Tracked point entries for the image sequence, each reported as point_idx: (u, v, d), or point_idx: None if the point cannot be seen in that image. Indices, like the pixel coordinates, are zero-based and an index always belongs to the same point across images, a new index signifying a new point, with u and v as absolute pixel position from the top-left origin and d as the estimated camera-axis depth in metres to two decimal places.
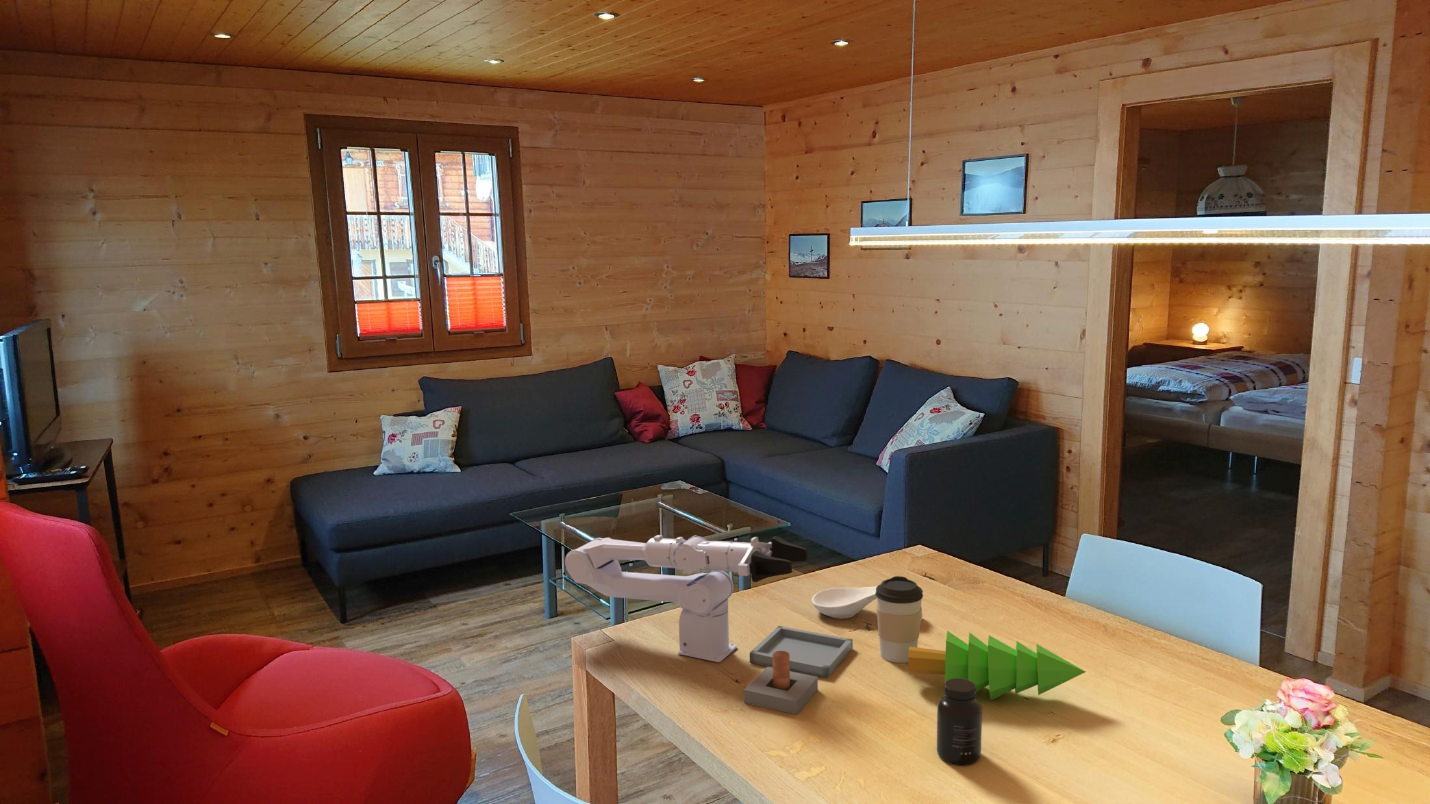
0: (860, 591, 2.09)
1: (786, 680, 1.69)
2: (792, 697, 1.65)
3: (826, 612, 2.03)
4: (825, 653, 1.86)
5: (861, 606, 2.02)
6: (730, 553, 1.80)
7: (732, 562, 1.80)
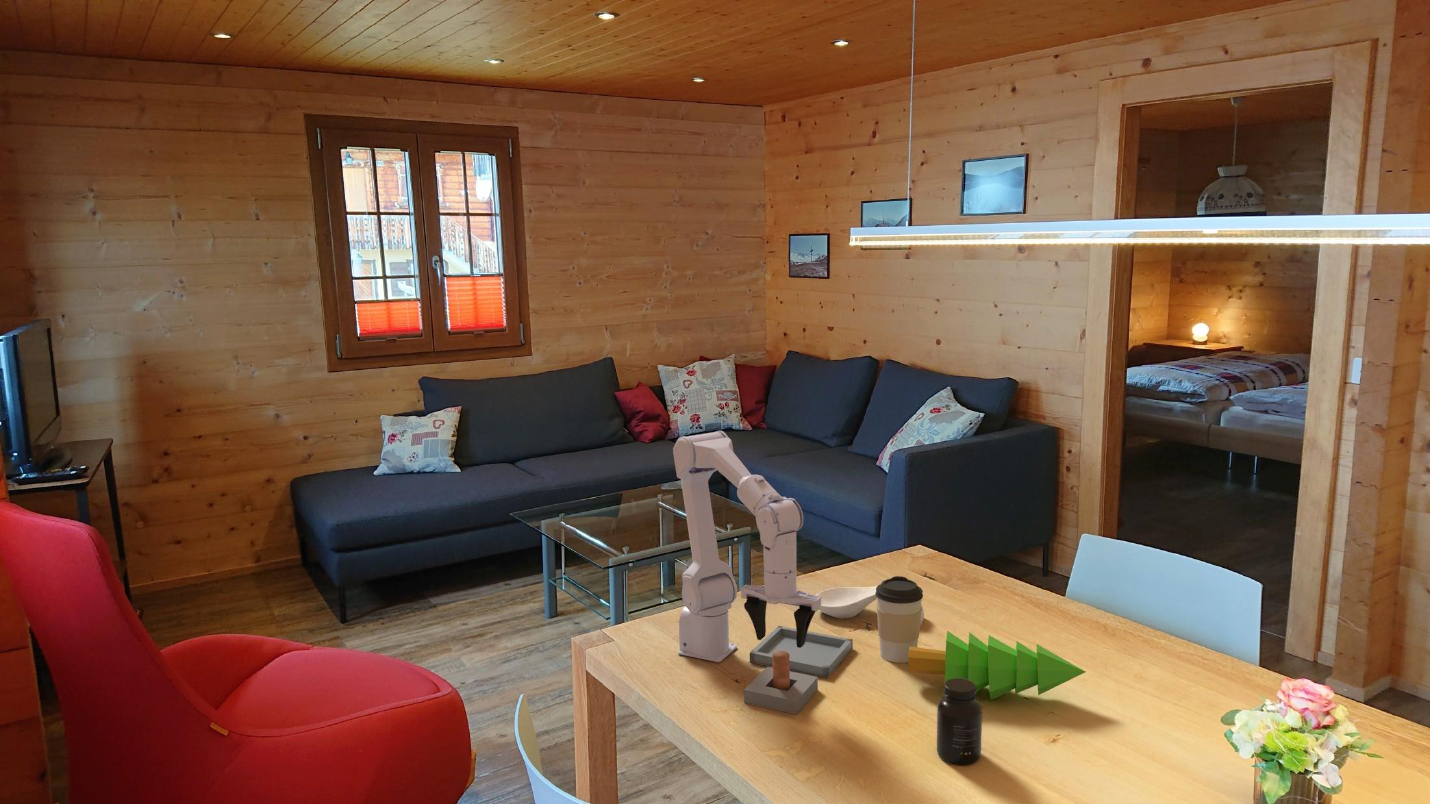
0: (861, 591, 2.09)
1: (786, 680, 1.69)
2: (792, 697, 1.65)
3: (828, 612, 2.03)
4: (825, 653, 1.86)
5: (863, 606, 2.02)
6: (764, 572, 1.66)
7: None
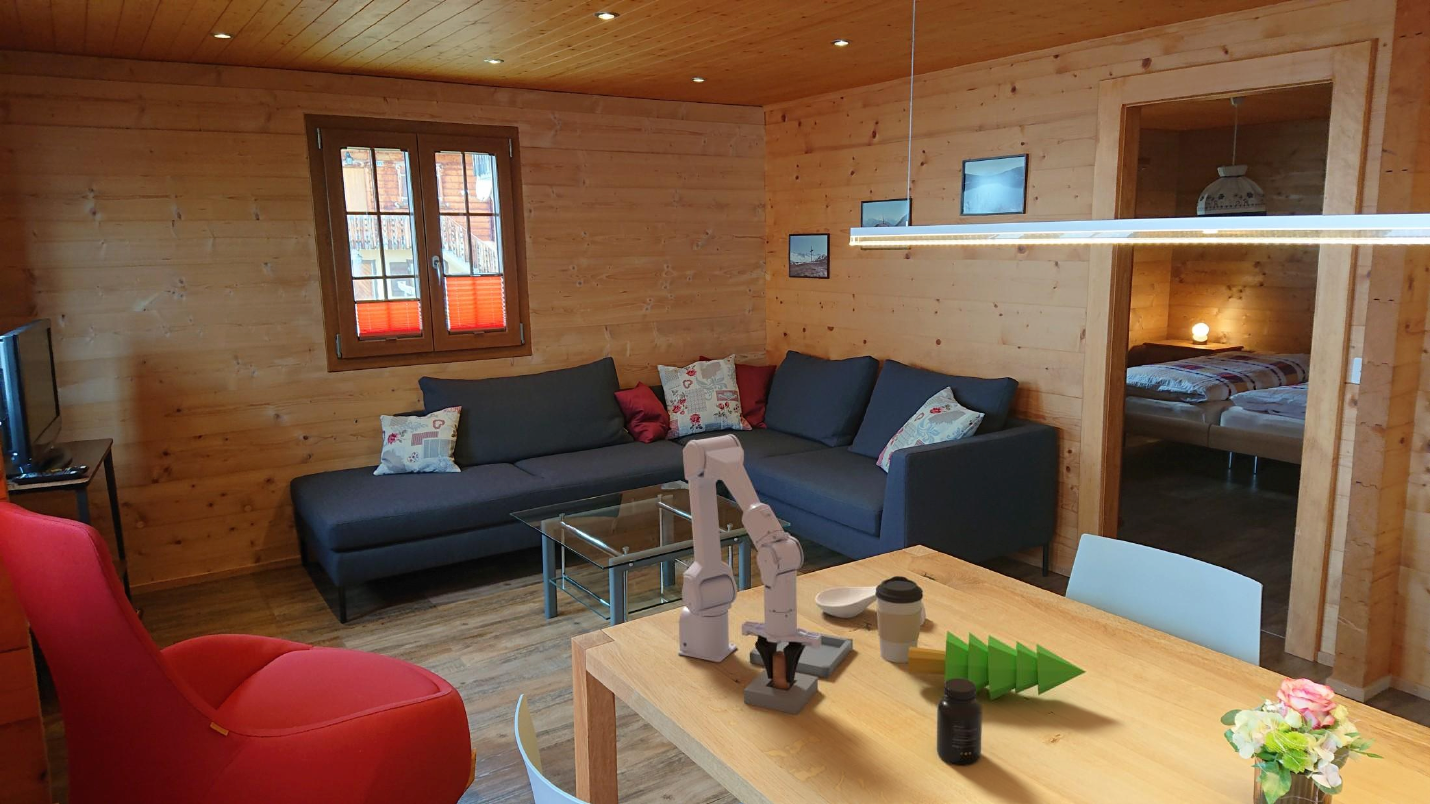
0: (863, 590, 2.09)
1: None
2: (792, 697, 1.65)
3: (829, 611, 2.03)
4: (825, 653, 1.86)
5: (864, 605, 2.02)
6: (764, 610, 1.67)
7: None
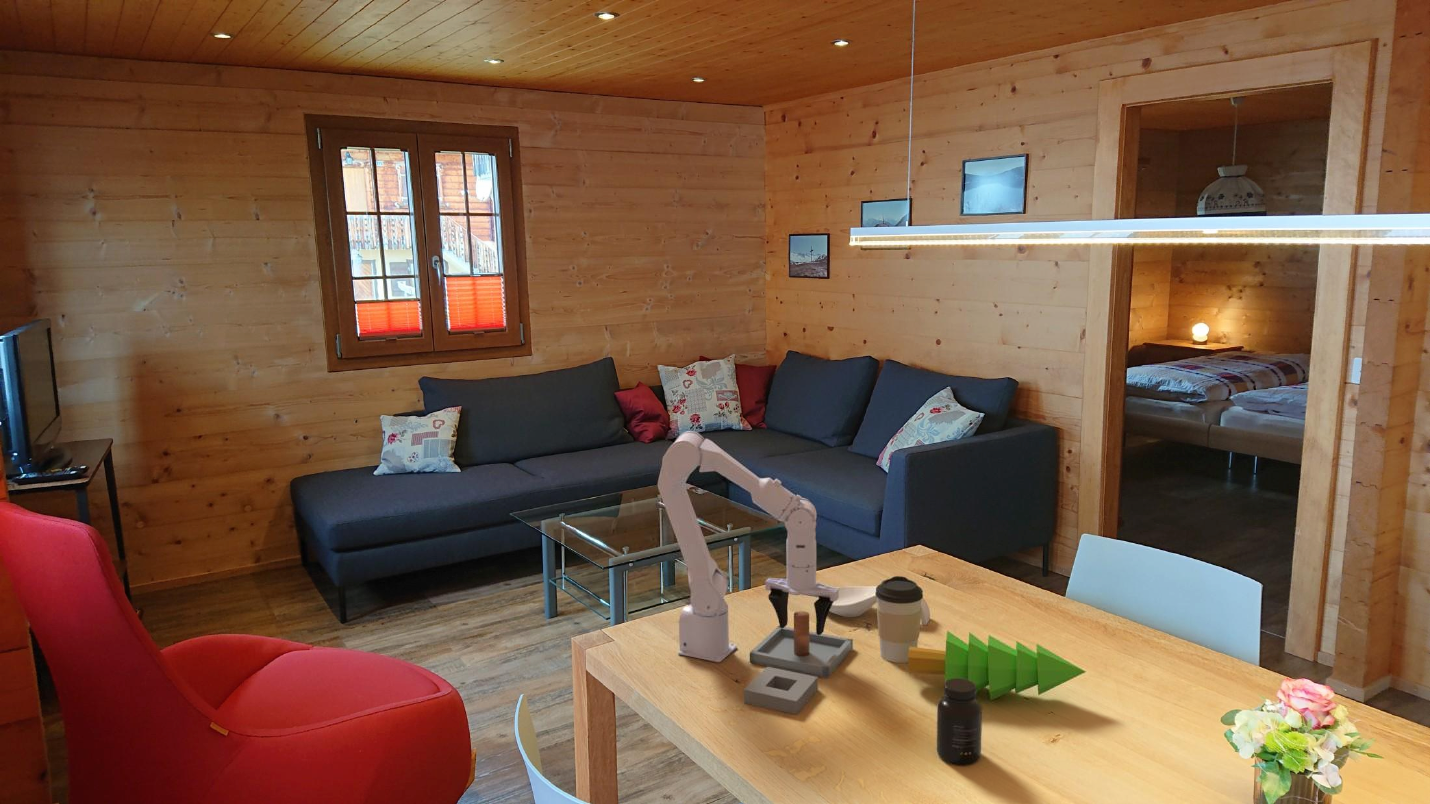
0: (868, 590, 2.09)
1: (806, 638, 1.85)
2: (792, 697, 1.65)
3: (833, 610, 2.04)
4: (825, 653, 1.86)
5: (868, 605, 2.03)
6: None
7: None
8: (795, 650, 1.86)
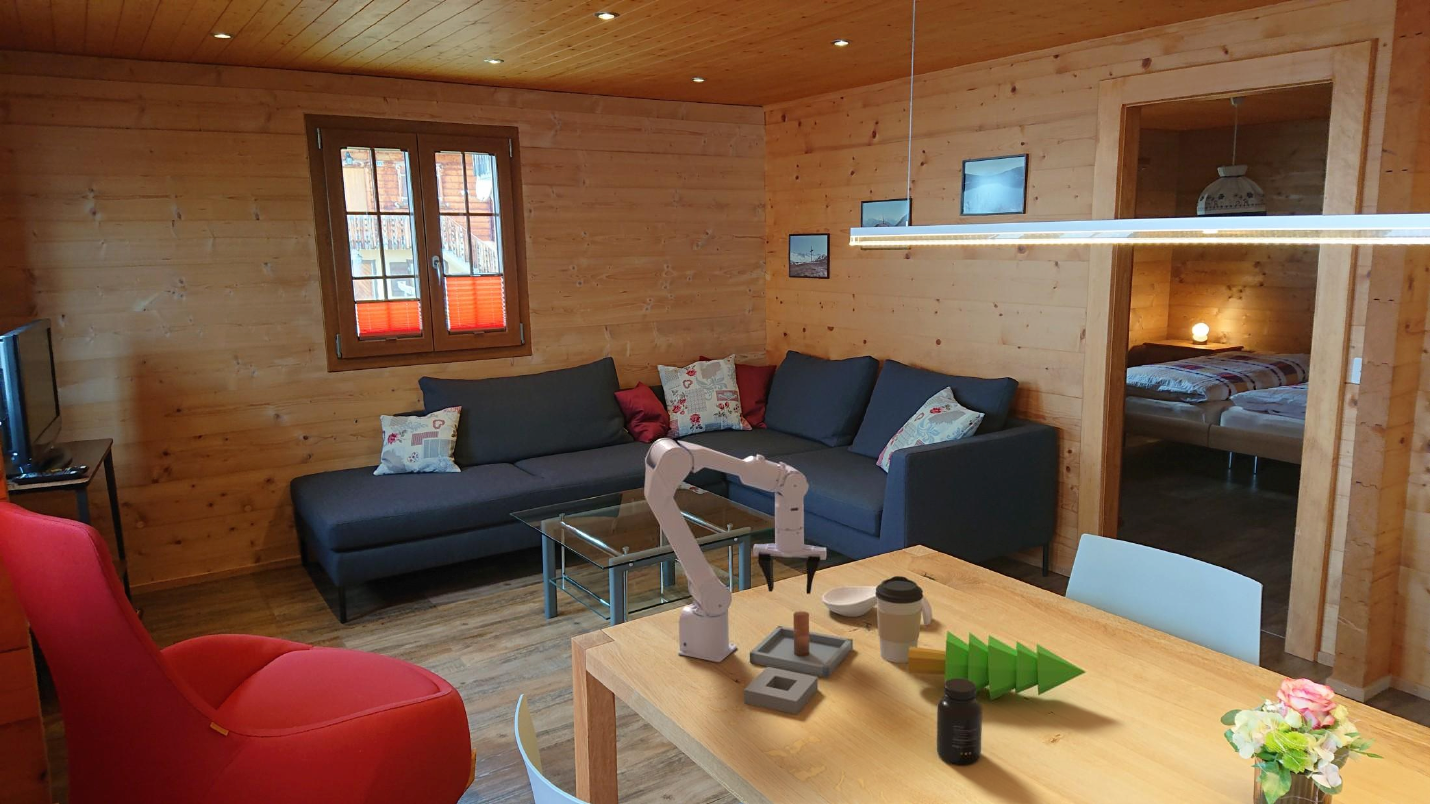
0: (871, 590, 2.10)
1: (806, 638, 1.85)
2: (792, 697, 1.65)
3: (835, 610, 2.04)
4: (825, 653, 1.86)
5: (870, 605, 2.03)
6: (776, 530, 1.89)
7: None
8: (795, 650, 1.86)
